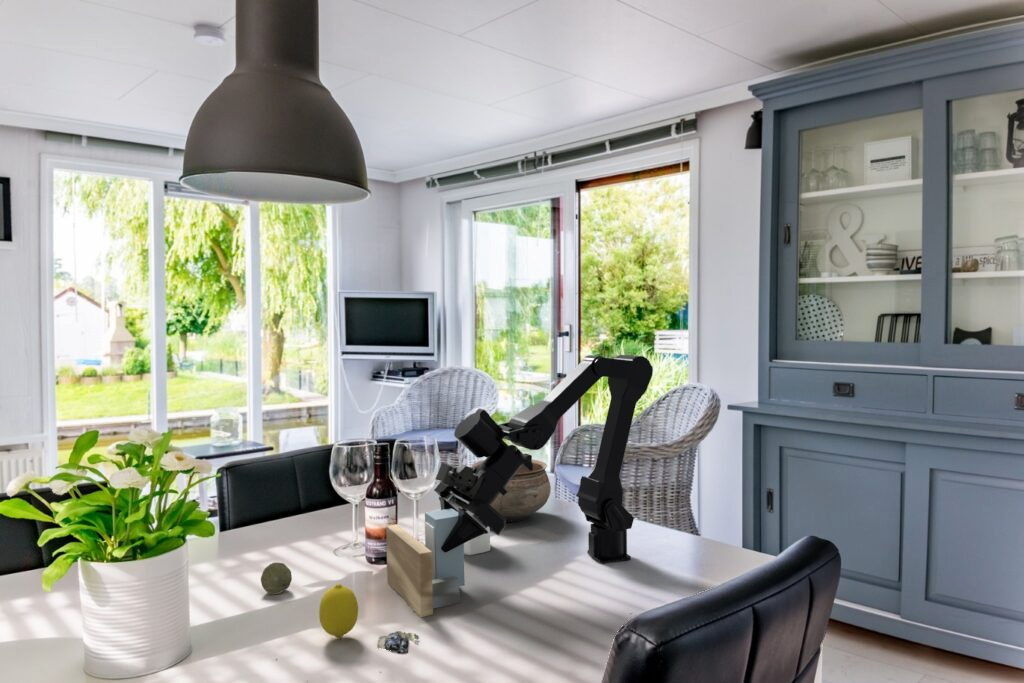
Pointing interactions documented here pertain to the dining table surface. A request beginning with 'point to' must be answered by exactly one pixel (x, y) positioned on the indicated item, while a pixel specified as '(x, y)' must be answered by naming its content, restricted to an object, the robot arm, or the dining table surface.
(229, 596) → the dining table surface
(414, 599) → the wooden bookend
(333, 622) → the lemon
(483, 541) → the jar
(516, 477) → the cooking pot
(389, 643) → the blueberries
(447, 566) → the light blue tall block
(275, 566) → the lime
